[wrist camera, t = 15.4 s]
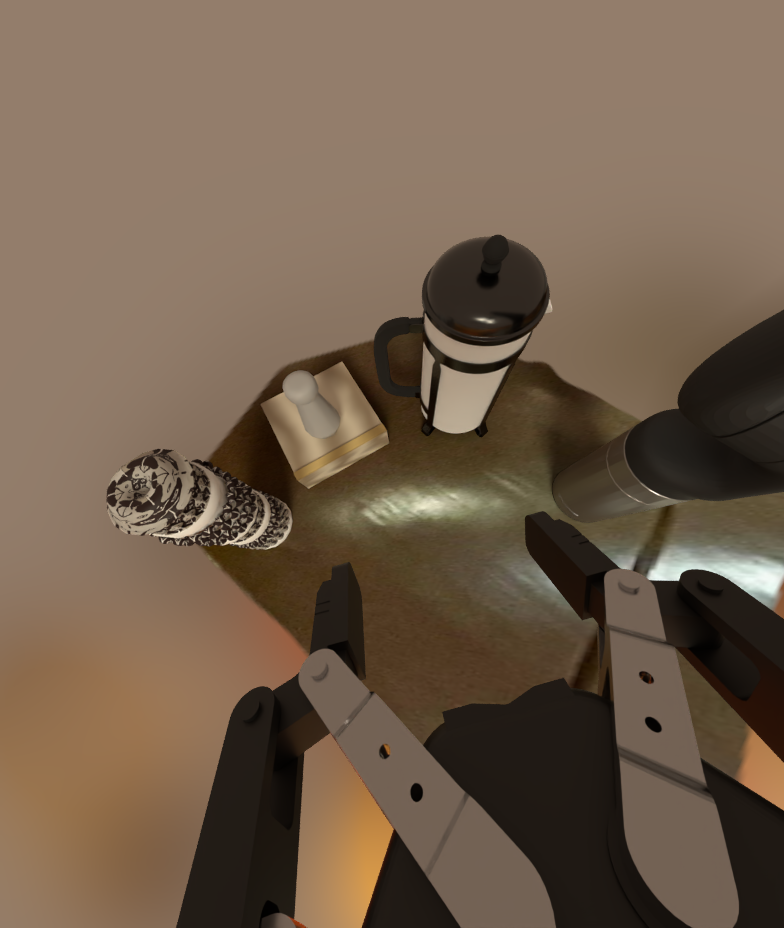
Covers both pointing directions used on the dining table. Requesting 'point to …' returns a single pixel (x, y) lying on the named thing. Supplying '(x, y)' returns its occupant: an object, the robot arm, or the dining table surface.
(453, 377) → the coffee press
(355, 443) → the wood block
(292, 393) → the salt shaker
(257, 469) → the dining table surface
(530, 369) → the dining table surface
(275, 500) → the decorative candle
